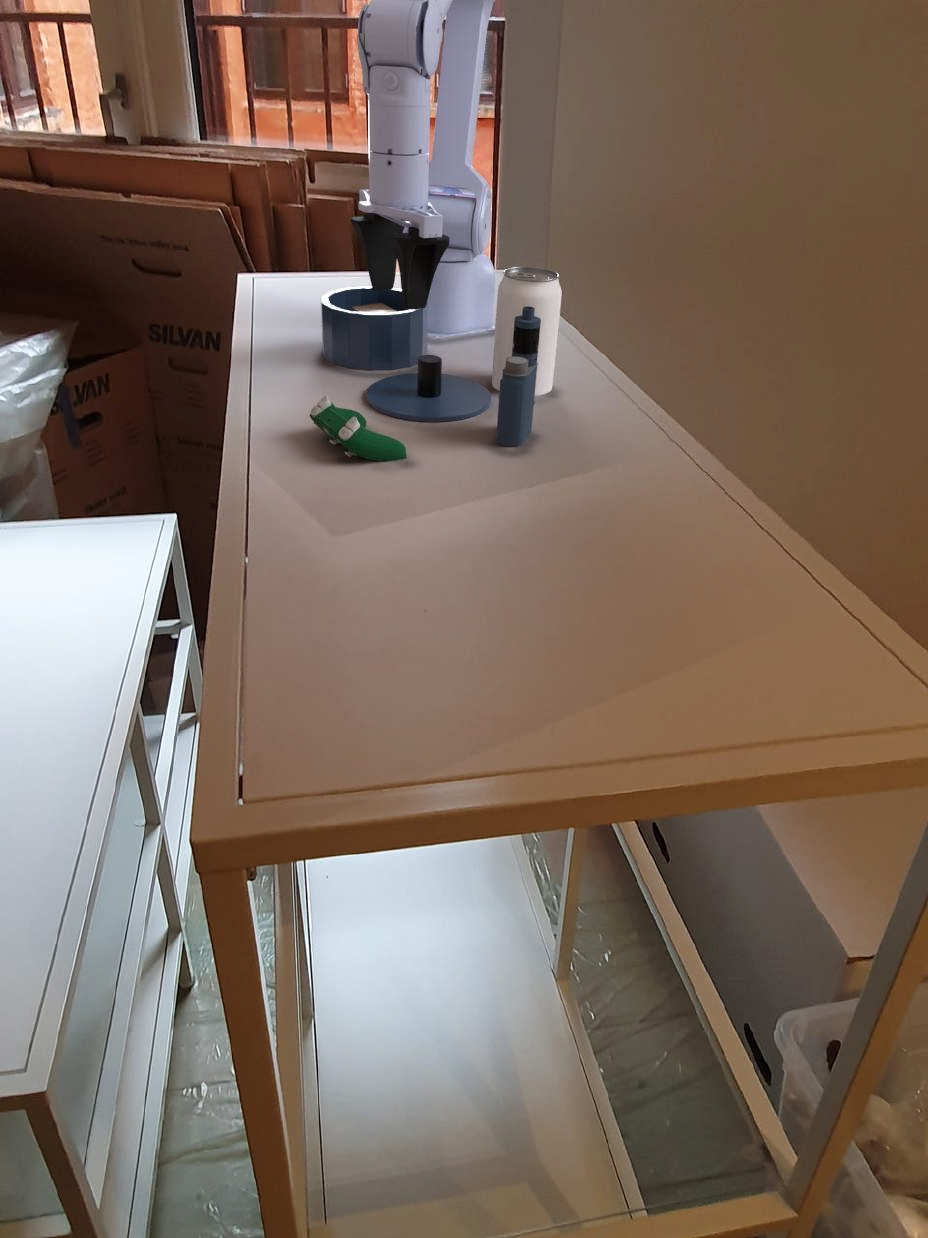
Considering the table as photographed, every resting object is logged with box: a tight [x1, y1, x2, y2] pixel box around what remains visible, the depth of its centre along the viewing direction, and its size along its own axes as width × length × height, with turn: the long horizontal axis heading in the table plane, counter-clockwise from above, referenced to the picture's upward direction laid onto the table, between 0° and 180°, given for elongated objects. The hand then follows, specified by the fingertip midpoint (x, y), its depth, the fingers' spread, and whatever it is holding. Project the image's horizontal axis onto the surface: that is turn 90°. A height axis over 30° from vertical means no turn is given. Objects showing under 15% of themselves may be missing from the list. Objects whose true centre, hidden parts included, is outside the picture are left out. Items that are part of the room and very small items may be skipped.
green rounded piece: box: [309, 395, 407, 462], centre depth 81 cm, size 9×4×6 cm
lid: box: [366, 354, 492, 423], centre depth 91 cm, size 13×13×5 cm
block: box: [350, 303, 398, 313], centre depth 102 cm, size 4×4×5 cm
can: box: [491, 266, 563, 397], centre depth 94 cm, size 6×6×12 cm
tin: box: [320, 286, 428, 372], centre depth 102 cm, size 12×12×6 cm
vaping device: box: [495, 306, 541, 448], centre depth 82 cm, size 3×5×12 cm, turn 161°
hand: (398, 298), depth 94 cm, fingers open, 7 cm apart
